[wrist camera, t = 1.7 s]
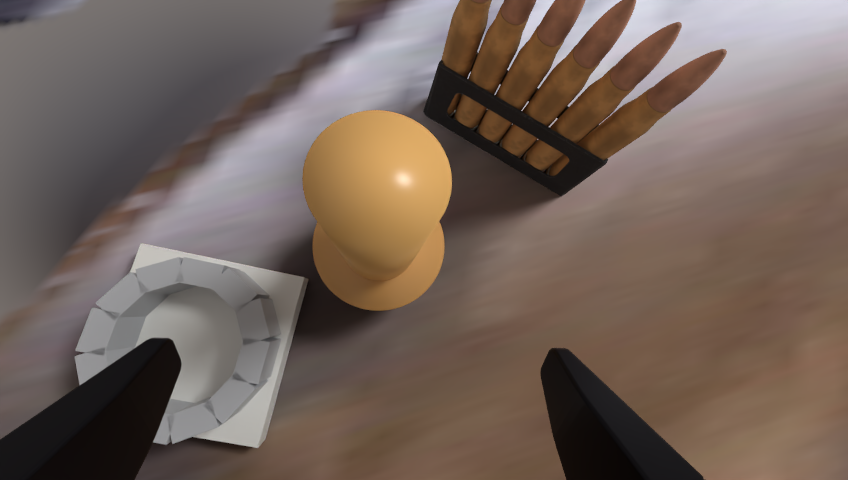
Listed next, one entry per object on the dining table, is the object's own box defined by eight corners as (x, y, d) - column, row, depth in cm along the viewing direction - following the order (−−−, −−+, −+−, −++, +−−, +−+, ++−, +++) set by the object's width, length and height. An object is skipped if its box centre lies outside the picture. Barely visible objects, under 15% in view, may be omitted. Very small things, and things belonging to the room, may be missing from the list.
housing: (265, 439, 19) (242, 464, 16) (95, 409, 18) (35, 430, 15) (308, 279, 21) (295, 273, 17) (155, 247, 20) (113, 235, 17)
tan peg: (421, 320, 21) (484, 337, 8) (312, 298, 20) (201, 279, 8) (441, 217, 22) (522, 95, 10) (340, 193, 22) (283, 33, 9)
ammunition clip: (422, 113, 24) (464, -80, 12) (436, 92, 24) (489, -115, 12) (561, 196, 24) (741, 85, 12) (573, 174, 24) (756, 45, 12)
